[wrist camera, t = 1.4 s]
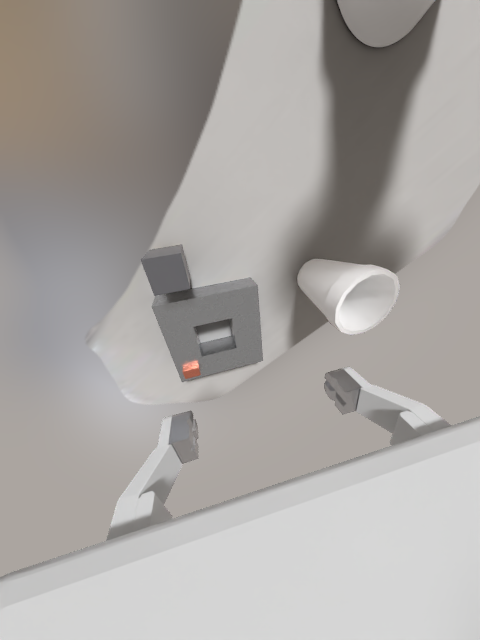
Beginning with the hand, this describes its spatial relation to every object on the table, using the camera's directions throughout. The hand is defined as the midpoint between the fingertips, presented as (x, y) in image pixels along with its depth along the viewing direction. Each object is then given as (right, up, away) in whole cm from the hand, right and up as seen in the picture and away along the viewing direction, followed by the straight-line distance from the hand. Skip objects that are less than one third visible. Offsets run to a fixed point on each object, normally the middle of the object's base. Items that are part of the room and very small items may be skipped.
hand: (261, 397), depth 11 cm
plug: (-12, +14, +18) cm, 25 cm away
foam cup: (+12, +13, +25) cm, 31 cm away
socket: (-6, +3, +25) cm, 26 cm away
